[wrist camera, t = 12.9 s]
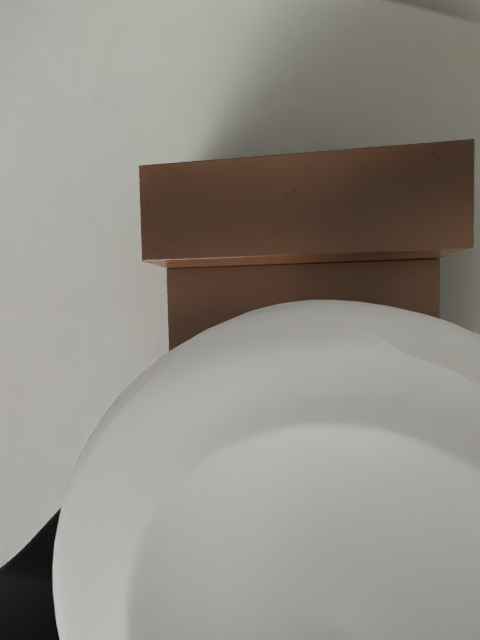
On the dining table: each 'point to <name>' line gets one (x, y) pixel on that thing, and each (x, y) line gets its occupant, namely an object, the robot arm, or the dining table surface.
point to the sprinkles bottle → (283, 486)
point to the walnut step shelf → (306, 229)
